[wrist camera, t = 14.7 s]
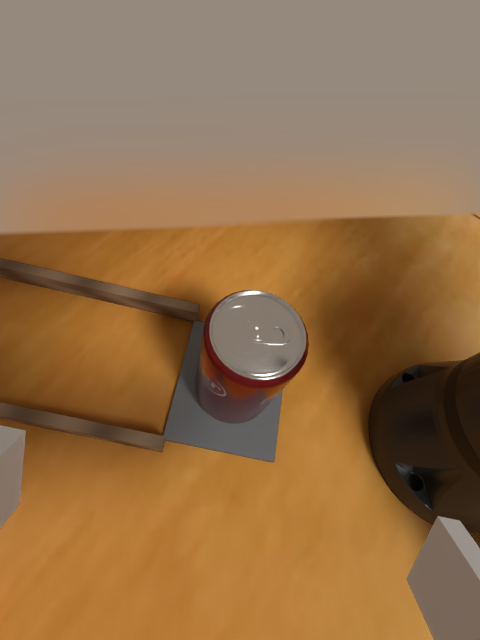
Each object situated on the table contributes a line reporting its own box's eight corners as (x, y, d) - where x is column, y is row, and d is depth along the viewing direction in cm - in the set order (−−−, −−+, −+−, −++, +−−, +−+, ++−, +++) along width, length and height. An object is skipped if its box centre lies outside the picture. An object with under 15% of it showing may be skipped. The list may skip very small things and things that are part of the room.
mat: (286, 342, 37) (287, 341, 37) (272, 462, 32) (274, 461, 31) (194, 321, 37) (194, 319, 36) (162, 439, 31) (162, 438, 31)
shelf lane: (198, 314, 37) (200, 299, 35) (162, 452, 30) (161, 446, 28) (-22, 263, 36) (-37, 243, 33) (-112, 396, 29) (-140, 385, 26)
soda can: (187, 419, 32) (194, 374, 21) (201, 345, 35) (212, 276, 25) (266, 430, 32) (311, 393, 22) (271, 357, 36) (312, 295, 25)
